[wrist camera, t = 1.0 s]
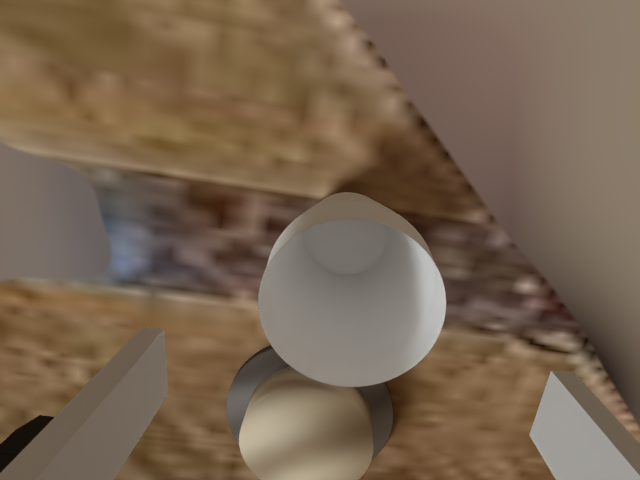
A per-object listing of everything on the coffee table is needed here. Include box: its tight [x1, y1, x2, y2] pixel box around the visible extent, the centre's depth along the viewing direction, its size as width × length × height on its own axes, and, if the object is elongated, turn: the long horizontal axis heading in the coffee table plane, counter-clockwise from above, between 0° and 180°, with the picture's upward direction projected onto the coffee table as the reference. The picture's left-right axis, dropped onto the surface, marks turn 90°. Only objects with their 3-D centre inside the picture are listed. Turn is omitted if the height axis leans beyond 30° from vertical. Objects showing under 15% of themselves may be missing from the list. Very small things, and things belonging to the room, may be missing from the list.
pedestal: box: [227, 346, 393, 480], centre depth 32 cm, size 15×15×4 cm
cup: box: [258, 192, 446, 387], centre depth 23 cm, size 9×9×12 cm
